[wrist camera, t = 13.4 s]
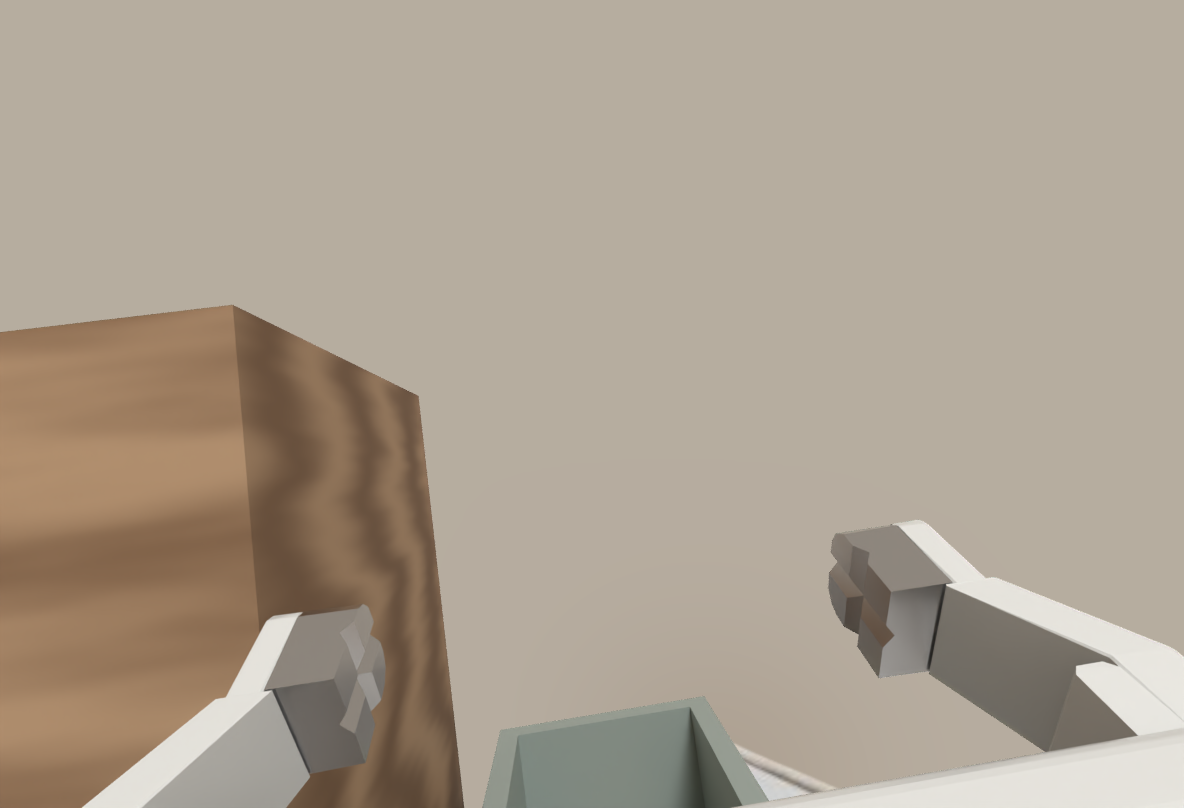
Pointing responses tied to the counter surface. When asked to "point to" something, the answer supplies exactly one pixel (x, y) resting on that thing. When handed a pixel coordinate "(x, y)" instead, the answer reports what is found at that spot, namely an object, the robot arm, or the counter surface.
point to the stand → (204, 546)
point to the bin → (623, 762)
